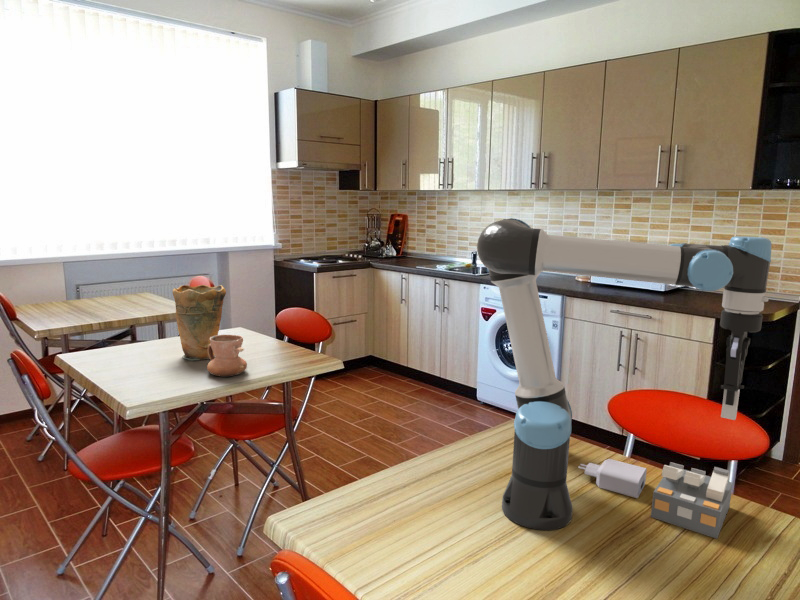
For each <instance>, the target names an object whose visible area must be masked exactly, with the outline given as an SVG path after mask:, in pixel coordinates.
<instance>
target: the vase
mask: <svg viewBox="0 0 800 600" xmlns="http://www.w3.org/2000/svg"><path fill="white" fill-rule="evenodd" d="M226 291H227V290H226V288H225V287H224V286H223V285H222V284H221V285H220V284H219V285H217V286H209V285H206V284H201V285H196V286H190V285H187V284H183V285H180V286H179V287H177V288H175V287H174V288H173V289H172V296H173V299H174V304H175V305H174V306H175V317H176V318H175V319H176V324H177V325H176V326H177V331H178V334H179V341H180V344H181V349H182V351H183V354H184V355H183V356H182V358H183V359H184V360H188V361H200V360H206V359H210V358H209V355H208V346H209V344H210V337H213V336H215V335H219V332H220V331H219V330H220V326H221V320H222V315H223V305H224V299H225V297H226V294H227V292H226ZM212 351H213V350H212ZM213 355H214V358H215V354H214V352H213Z"/></svg>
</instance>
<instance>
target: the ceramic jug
mask: <svg viewBox="0 0 800 600" xmlns="http://www.w3.org/2000/svg"><path fill="white" fill-rule="evenodd" d="M243 342H244V337H243V336H242V335H240V334H239V335H238V334H237V335H236V334H218V335H215V336H213V337H210V344H209V346H208V355H209V358H208V359H209V360H210V361H209V362H208V364H207V366H206V368H207V371H208V372H209V373H210V374H211V375H214V376H217V377H234V376H237V375H240V374H242V373H243V372H245V371H246V370H247V367H248V363H247V361H246V360H245V359H244V358H242V357H241V356H239V353H242V352H243V351H245V348H243V347H242V346H243ZM212 350H213V351H212ZM213 352H214V354H215V357H214V355H213Z"/></svg>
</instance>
